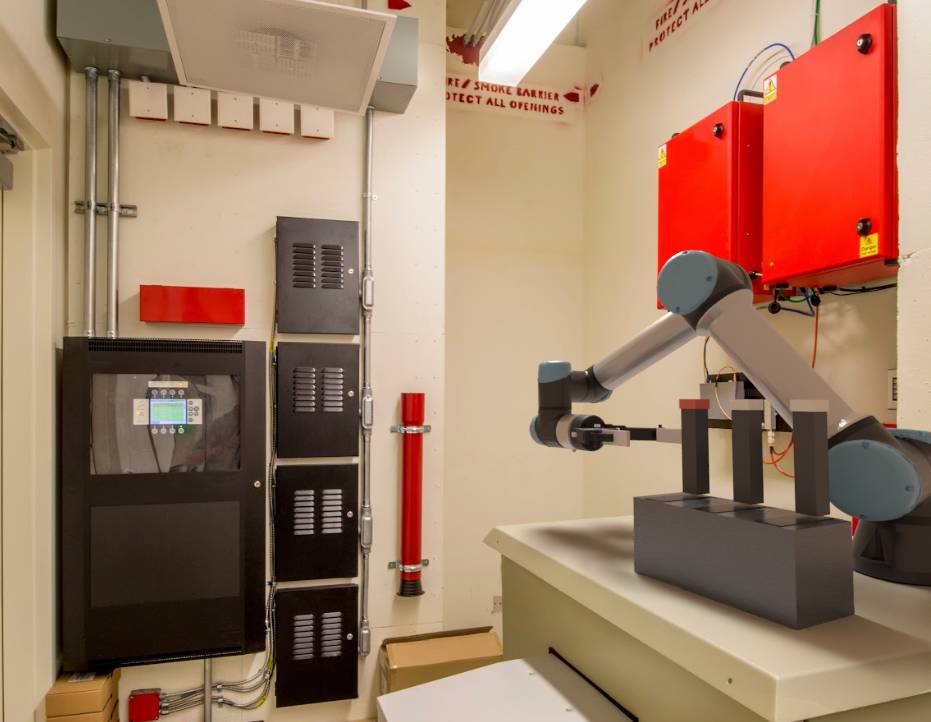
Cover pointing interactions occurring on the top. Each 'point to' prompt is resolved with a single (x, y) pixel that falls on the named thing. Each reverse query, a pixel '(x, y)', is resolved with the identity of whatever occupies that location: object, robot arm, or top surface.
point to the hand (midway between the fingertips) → (657, 437)
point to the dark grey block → (748, 556)
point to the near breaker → (811, 457)
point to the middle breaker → (747, 450)
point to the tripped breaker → (695, 445)
